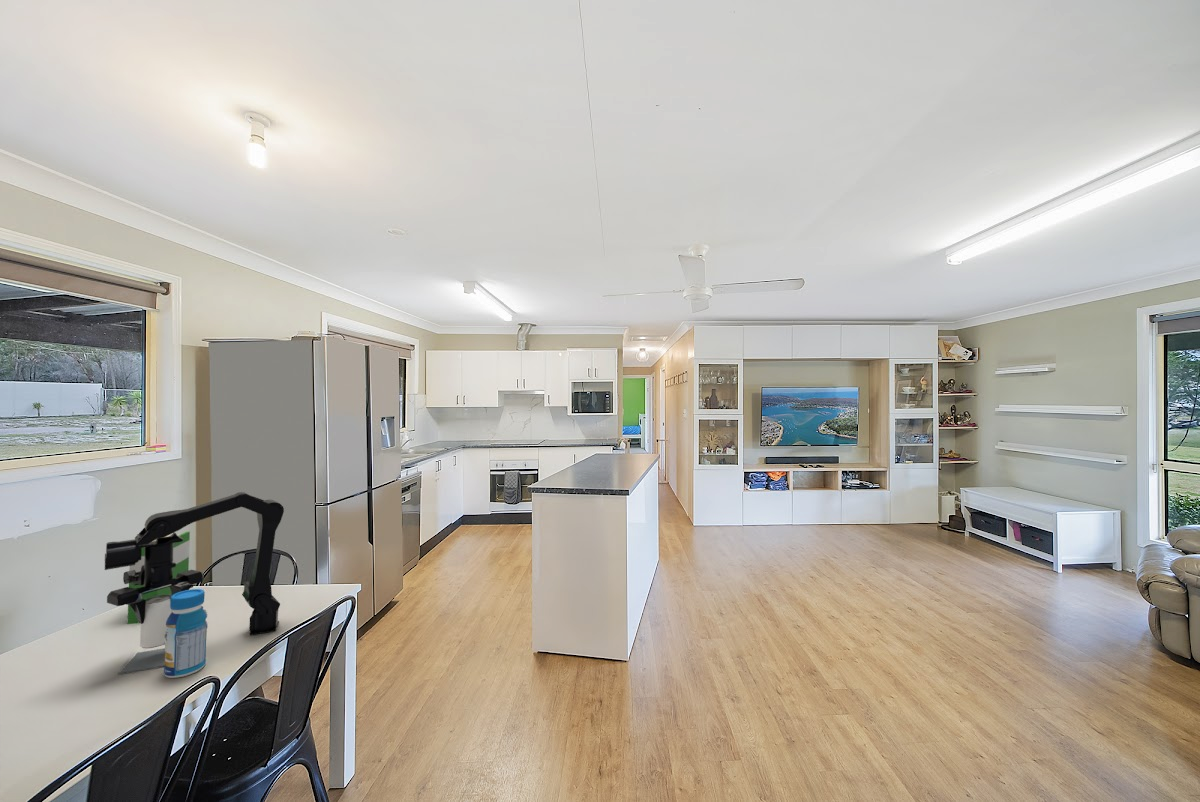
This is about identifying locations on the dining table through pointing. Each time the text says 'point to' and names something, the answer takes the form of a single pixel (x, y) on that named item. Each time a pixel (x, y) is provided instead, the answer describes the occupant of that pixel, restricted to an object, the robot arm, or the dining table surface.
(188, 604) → the beverage bottle
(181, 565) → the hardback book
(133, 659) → the slate mat
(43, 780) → the dining table surface
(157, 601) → the can
